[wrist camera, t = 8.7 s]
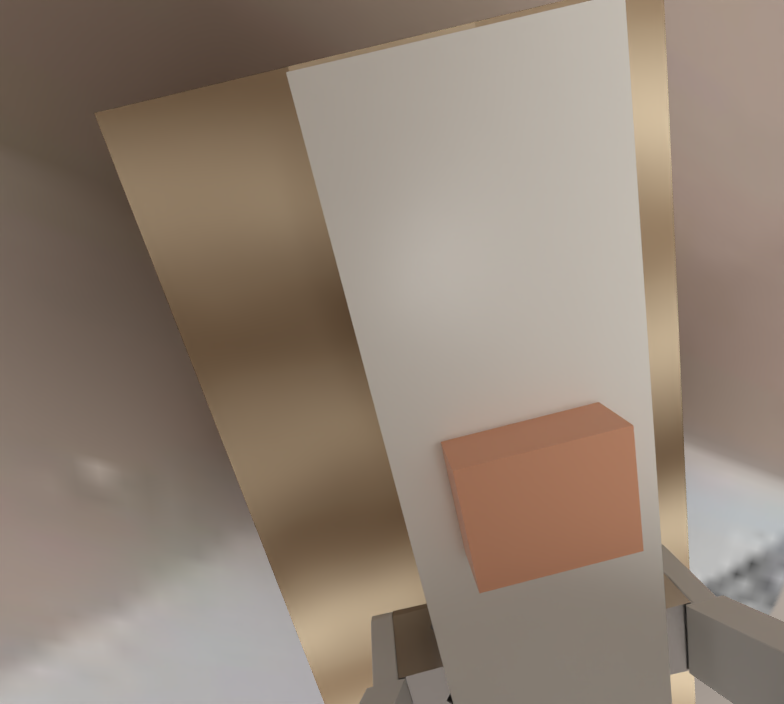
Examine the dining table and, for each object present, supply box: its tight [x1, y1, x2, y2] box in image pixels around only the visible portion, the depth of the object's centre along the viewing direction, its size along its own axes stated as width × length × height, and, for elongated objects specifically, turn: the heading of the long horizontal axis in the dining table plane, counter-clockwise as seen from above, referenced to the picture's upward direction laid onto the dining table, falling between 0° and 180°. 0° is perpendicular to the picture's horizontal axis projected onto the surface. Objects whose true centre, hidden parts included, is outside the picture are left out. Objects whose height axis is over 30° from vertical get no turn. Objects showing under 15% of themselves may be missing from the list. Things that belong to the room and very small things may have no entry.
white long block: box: [286, 0, 672, 704], centre depth 10 cm, size 22×4×7 cm, turn 13°
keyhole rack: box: [94, 0, 695, 704], centre depth 16 cm, size 26×14×4 cm, turn 13°
